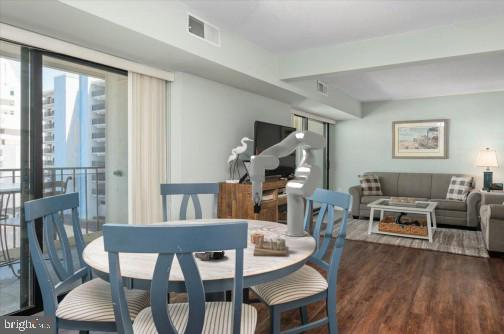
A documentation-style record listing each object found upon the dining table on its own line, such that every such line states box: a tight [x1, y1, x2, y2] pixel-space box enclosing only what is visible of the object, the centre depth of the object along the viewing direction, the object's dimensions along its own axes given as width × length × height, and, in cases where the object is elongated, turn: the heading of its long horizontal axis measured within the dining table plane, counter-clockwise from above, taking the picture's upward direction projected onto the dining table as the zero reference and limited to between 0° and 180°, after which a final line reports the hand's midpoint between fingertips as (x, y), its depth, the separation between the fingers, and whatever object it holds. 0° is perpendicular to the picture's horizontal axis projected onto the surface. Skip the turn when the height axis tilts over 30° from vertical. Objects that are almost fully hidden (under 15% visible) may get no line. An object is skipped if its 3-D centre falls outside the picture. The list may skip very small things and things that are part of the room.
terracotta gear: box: [250, 232, 265, 244], centre depth 180 cm, size 7×7×4 cm
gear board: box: [253, 237, 288, 258], centre depth 164 cm, size 18×15×6 cm
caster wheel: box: [193, 250, 226, 262], centre depth 152 cm, size 7×11×10 cm
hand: (257, 211), depth 180 cm, fingers open, 9 cm apart
